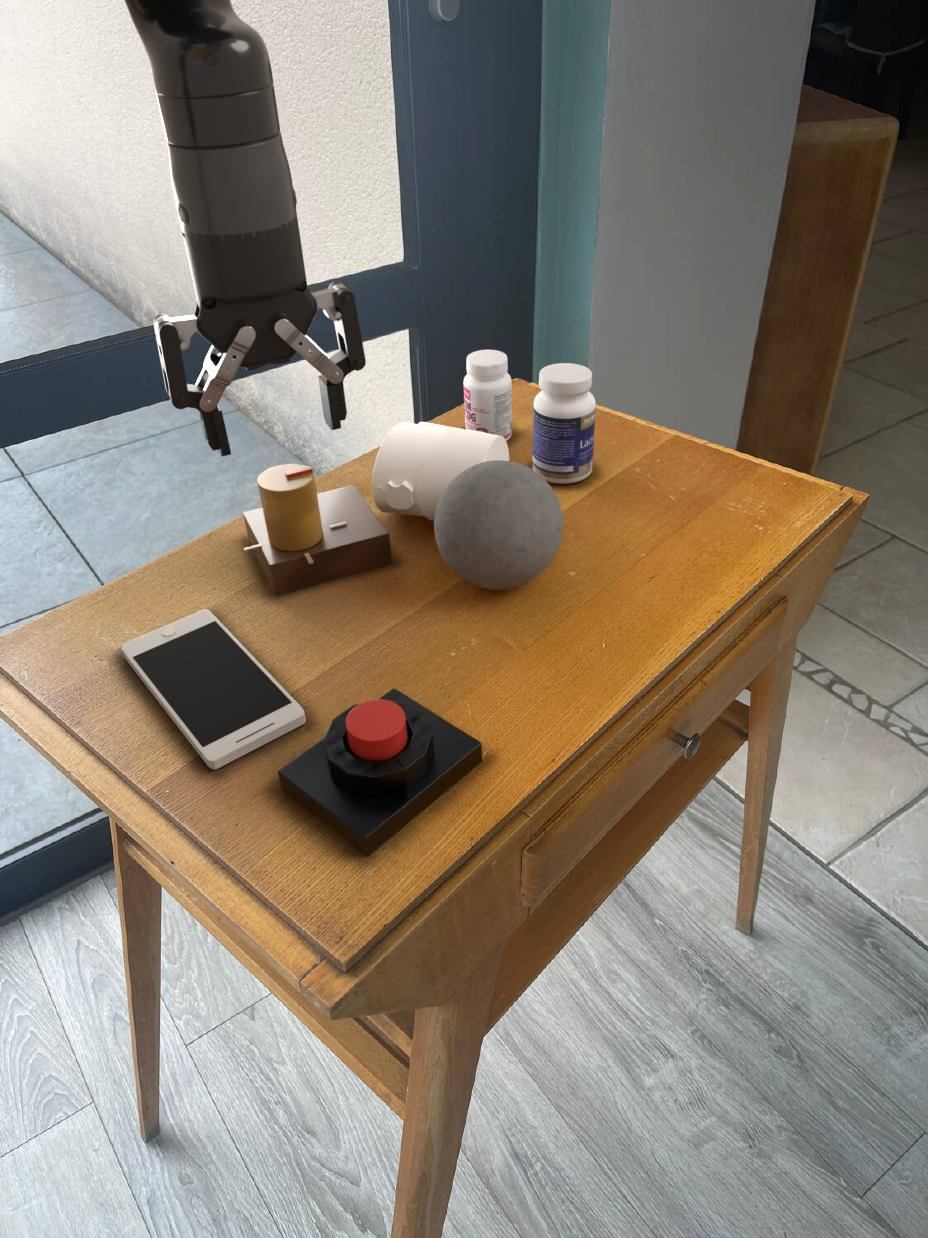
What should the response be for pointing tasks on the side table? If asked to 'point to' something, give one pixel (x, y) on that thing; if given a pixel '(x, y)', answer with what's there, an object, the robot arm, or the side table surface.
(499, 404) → the pill bottle
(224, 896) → the side table surface
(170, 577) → the side table surface
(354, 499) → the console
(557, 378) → the pill bottle
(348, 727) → the button
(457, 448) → the mug
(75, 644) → the side table surface
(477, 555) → the decorative ball
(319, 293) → the robot arm
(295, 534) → the knob
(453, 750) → the button box
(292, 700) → the smartphone
